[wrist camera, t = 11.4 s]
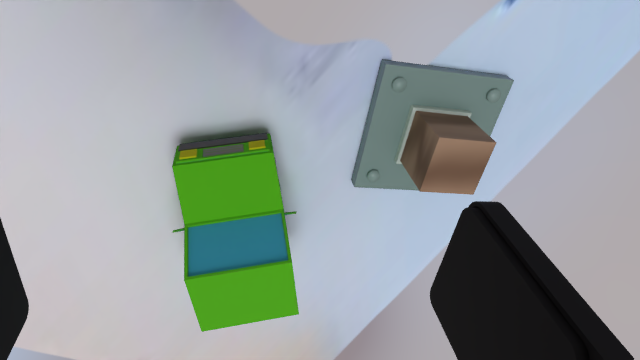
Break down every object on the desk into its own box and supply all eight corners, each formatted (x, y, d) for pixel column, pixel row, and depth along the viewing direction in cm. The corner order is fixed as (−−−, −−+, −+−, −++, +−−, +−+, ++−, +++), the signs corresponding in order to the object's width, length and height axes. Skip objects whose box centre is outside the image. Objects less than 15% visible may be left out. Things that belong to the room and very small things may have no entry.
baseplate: (381, 59, 35) (388, 66, 34) (506, 75, 38) (517, 82, 37) (351, 180, 42) (355, 190, 40) (460, 186, 44) (468, 196, 43)
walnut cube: (416, 110, 37) (439, 137, 32) (467, 116, 38) (496, 142, 34) (400, 160, 39) (419, 191, 35) (448, 164, 40) (473, 194, 36)
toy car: (282, 120, 37) (296, 183, 29) (296, 235, 44) (310, 311, 36) (162, 136, 36) (142, 206, 28) (197, 251, 43) (189, 333, 35)
